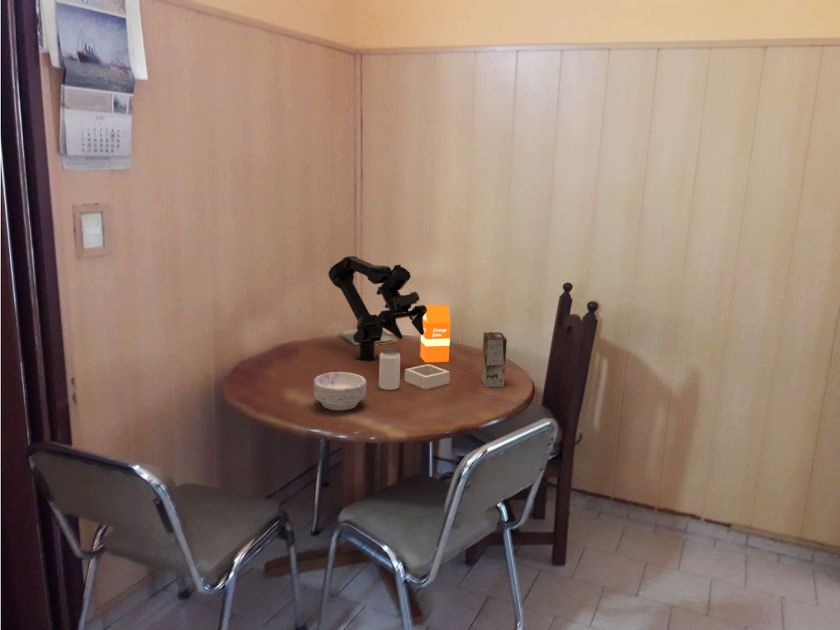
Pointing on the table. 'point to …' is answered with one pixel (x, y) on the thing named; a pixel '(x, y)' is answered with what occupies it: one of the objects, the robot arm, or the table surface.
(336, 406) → the paper bowls
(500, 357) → the coffee box
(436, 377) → the collar
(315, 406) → the table surface
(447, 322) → the orange juice
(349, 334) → the dish towel
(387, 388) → the can
